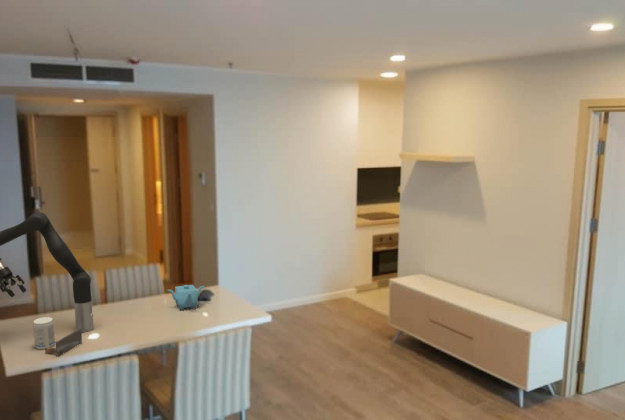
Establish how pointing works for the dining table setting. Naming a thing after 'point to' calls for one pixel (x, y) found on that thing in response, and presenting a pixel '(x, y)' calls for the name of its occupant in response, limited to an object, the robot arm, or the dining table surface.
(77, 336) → the walnut dock
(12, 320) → the dining table surface
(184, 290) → the teakettle
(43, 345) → the supplement tub
